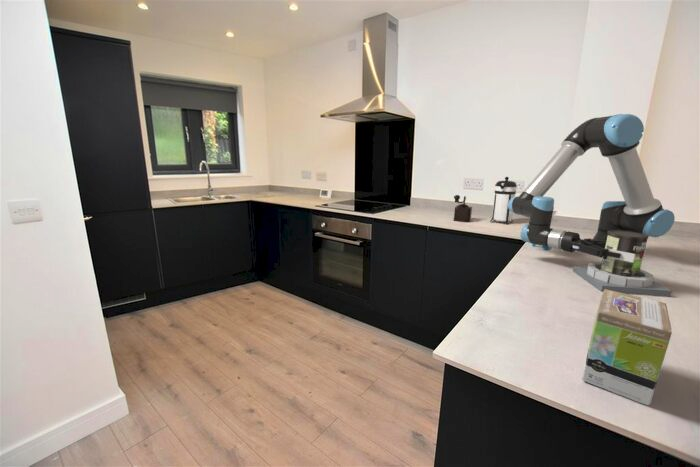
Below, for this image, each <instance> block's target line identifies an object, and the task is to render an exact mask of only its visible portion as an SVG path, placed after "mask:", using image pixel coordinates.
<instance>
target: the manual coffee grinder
mask: <svg viewBox="0 0 700 467" xmlns="http://www.w3.org/2000/svg"><path fill="white" fill-rule="evenodd" d="M453 198H454V203H457V204H458V205H456V206H455V207H454V214H453V221H454V222H460V223H470V222H471V221H472V214H473V213H472V212H473V206H471V205H470V206H469V205H468V204H466V200H467V196H466V195H465V196H464V197H463V200H462V201H460V199H461V196H460V195H459V194H455V195H454V196H453Z"/></svg>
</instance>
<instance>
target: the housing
mask: <svg viewBox="0 0 700 467" xmlns="http://www.w3.org/2000/svg"><path fill="white" fill-rule="evenodd" d="M601 264H602V261H599V262H597V261H596V262H590V263H588V265H587V266H576V265H574V266H572V267H573V268H572V272H573V273H575V274H576V275H577V276H579V277H580V278H581V279H583V280H584V281H585V282H587V283H588V284H590V285H591V286H593V287H594V288H596V289H597V290H598V291H600V292H602V293H603V292H604V290H605V289H607V290H611V291H616V292H620V293H624V294H629V295H641V296H642V295H643V296H652V297H653V296H654V297H655V296H656V297H668V298H669V297H671V294H672V290H671V289H669V288H667V287H665V286H663V285H661V284H660V283H657V282H655V281H654V275H653V274H652V273H650V272H648V271H646V270H643V269H641V268H640V272H639V277H638V278H634V277H624V276H618V275H613V274H609V273H606V272H603V271H600V269H601Z"/></svg>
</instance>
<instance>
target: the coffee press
mask: <svg viewBox="0 0 700 467" xmlns="http://www.w3.org/2000/svg"><path fill="white" fill-rule="evenodd" d="M504 179H505V180H499V181H497V182H496V183H495V185H494V186H495V188H494V198H493V205H492V206H493V207H492V213H491V214H492V217H491V219H490V221H489V222H490V223H492V224H493V223H494V222H496V221H497V222H503V223H504V224H505V225H509V223H513V214H514V213H513V212H511V211H510V210H509V208H508V203H509V201H510V199H511V198H513V197H516V193H517V191H516V190H517V187H518V185H517V182H515V181H513V180H509V176H505V177H504Z"/></svg>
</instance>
